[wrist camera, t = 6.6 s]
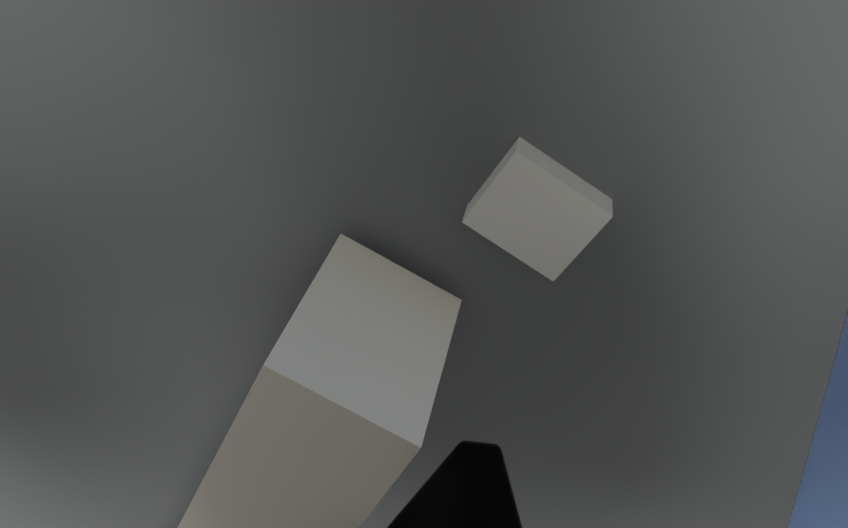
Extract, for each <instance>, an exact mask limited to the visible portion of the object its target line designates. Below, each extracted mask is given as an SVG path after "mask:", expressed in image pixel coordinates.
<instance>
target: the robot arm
mask: <svg viewBox="0 0 848 528" xmlns="http://www.w3.org/2000/svg"><path fill="white" fill-rule="evenodd" d="M387 528H522V524H521V521H520V517H519V513H518V509H517V506H516V502H515V498H514V494H513V491H512V487H511V483H510V479H509V476H508V472H507V468H506V464H505V461H504V457H503V453H502V450H501V448H500V446H499V445H497V444H493V443H484V442H476V441H468V440H464V441H461V442H460V443H458V444H457V446H456V447H455V448H454V449H453V450H452V451H451V452H450V454H449V455H448V456H447V457H446V458H445V460H444V461H443V462H442V463H441V464H440V465H439V467H438V468H437V469H436V470H435V471H434V472H433V474H432V475H431V476H430V477H429V478H428V480H427V481H426V482H425V483H424V484H423V485H422V487H421V488H420V489H419V490H418V491H417V492H416V494H415V495H414V496H413V497H412V498H411V500H410V501H409V502H408V503H407V504H406V505H405V507H404V508H403V509H402V510H401V511H400V512H399V514H398V515H397V516H396V517H395V518H394V520H393V521H392V522H391V523H390V524H389V525H388V527H387Z"/></svg>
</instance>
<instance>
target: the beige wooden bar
mask: <svg viewBox="0 0 848 528" xmlns="http://www.w3.org/2000/svg"><path fill="white" fill-rule="evenodd" d="M461 301H462V300H461V299H459V298H457V297H456V296H454V295H452V294H450V293H448V292H447V291H445V290H443V289H441V288H439V287H437V286H436V285H434V284H432V283H430V282H428V281H426V280H425V279H423V278H421V277H419V276H417V275H416V274H414V273H412V272H410V271H408V270H406V269H405V268H403V267H401V266H399V265H397V264H396V263H394V262H392V261H390V260H388V259H386V258H385V257H383V256H381V255H379V254H377V253H376V252H374V251H372V250H370V249H368V248H366V247H365V246H363V245H361V244H359V243H357V242H356V241H354V240H352V239H350V238H348V237H346V236H345V235H343V234H340V236H339V237H338V239H337V241H336V242H335V244H334V246H333V247H332V249H331V251H330V253H329V254H328V256H327V258H326V259H325V261H324V263H323V264H322V266H321V268H320V269H319V271H318V273H317V275H316V276H315V278H314V280H313V281H312V283H311V285H310V286H309V288H308V290H307V292H306V293H305V295H304V297H303V298H302V300H301V302H300V303H299V305H298V307H297V308H296V310H295V312H294V314H293V315H292V317H291V319H290V320H289V322H288V324H287V325H286V327H285V329H284V331H283V332H282V334H281V336H280V337H279V339H278V341H277V342H276V344H275V346H274V347H273V349H272V351H271V353H270V354H269V356H268V358H267V359H266V361H265V363H264V364H263V366H262V368H261V370H260V372H259V374H258V376H257V378H256V380H255V381H254V383H253V385H252V387H251V389H250V391H249V393H248V395H247V397H246V399H245V400H244V402H243V404H242V406H241V408H240V410H239V412H238V414H237V416H236V418H235V419H234V421H233V423H232V425H231V427H230V429H229V431H228V433H227V435H226V436H225V438H224V440H223V442H222V444H221V446H220V448H219V450H218V452H217V454H216V455H215V457H214V459H213V461H212V463H211V465H210V467H209V469H208V471H207V473H206V474H205V476H204V478H203V480H202V482H201V484H200V486H199V488H198V490H197V492H196V493H195V495H194V497H193V499H192V501H191V503H190V505H189V507H188V509H187V510H186V512H185V514H184V516H183V518H182V520H181V522H180V524H179V526H178V528H359V527H360V526H361V525H362V523H363V522H364V521H365V519H366V518H367V517H368V516H369V514H370V513H371V512H372V510H373V509H374V508H375V507H376V505H377V504H378V503H379V501H380V500H381V499H382V498H383V496H384V495H385V494H386V492H387V491H388V490H389V489H390V487H391V486H392V485H393V483H394V482H395V481H396V480H397V478H398V477H399V476H400V474H401V473H402V472H403V471H404V469H405V468H406V467H407V465H408V464H409V463H410V462H411V460H412V459H413V458H414V456H415V455H416V454H417V453H418V451H419V450H420V449H421V447H422V443H423V439H424V436H425V432H426V428H427V425H428V421H429V417H430V414H431V410H432V407H433V403H434V399H435V396H436V392H437V388H438V385H439V381H440V377H441V374H442V370H443V366H444V363H445V359H446V356H447V352H448V348H449V345H450V341H451V337H452V334H453V330H454V326H455V323H456V319H457V316H458V312H459V308H460V305H461Z"/></svg>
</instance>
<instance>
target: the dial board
mask: <svg viewBox="0 0 848 528" xmlns="http://www.w3.org/2000/svg"><path fill="white" fill-rule="evenodd" d="M340 234H343V235H345V236H346V237H348V238H350V239H352V240H354V241H356V242H357V243H359V244H361V245H363V246H365V247H366V248H368V249H370V250H372V251H374V252H376V253H377V254H379V255H381V256H383V257H385V258H386V259H388V260H390V261H392V262H394V263H396V264H397V265H399V266H401V267H403V268H405V269H406V270H408V271H410V272H412V273H414V274H416V275H417V276H419V277H421V278H423V279H425V280H426V281H428V282H430V283H432V284H434V285H436V286H437V287H439V288H441V289H443V290H445V291H447V292H448V293H450V294H452V295H454V296H456V297H457V298H459V299H461V300H462V301H461V305H460V308H459V312H458V316H457V319H456V323H455V326H454V330H453V334H452V337H451V341H450V345H449V348H448V352H447V356H446V359H445V363H444V366H443V370H442V374H441V377H440V381H439V385H438V388H437V392H436V396H435V399H434V403H433V407H432V410H431V414H430V417H429V421H428V425H427V428H426V432H425V436H424V439H423V443H422V447H421V449H420V450H419V451H418V453H417V454H416V455H415V456H414V458H413V459H412V460H411V462H410V463H409V464H408V465H407V467H406V468H405V469H404V471H403V472H402V473H401V474H400V476H399V477H398V478H397V480H396V481H395V482H394V483H393V485H392V486H391V487H390V489H389V490H388V491H387V492H386V494H385V495H384V496H383V498H382V499H381V500H380V501H379V503H378V504H377V505H376V507H375V508H374V509H373V510H372V512H371V513H370V514H369V516H368V517H367V518H366V519H365V521H364V522H363V523H362V525H361V526H360V527H359V528H387V527H388V525H389V524H390V523H391V522H392V521H393V520H394V518H395V517H396V516H397V515H398V514H399V512H400V511H401V510H402V509H403V508H404V507H405V505H406V504H407V503H408V502H409V501H410V500H411V498H412V497H413V496H414V495H415V494H416V492H417V491H418V490H419V489H420V488H421V487H422V485H423V484H424V483H425V482H426V481H427V480H428V478H429V477H430V476H431V475H432V474H433V472H434V471H435V470H436V469H437V468H438V467H439V465H440V464H441V463H442V462H443V461H444V460H445V458H446V457H447V456H448V455H449V454H450V452H451V451H452V450H453V449H454V448H455V447H456V446H457V444H458V443H460V442H461V441H464V440H468V441H476V442H484V443H493V444H497V445H499V446H500V448H501V450H502V453H503V457H504V461H505V464H506V468H507V472H508V476H509V479H510V483H511V487H512V491H513V494H514V498H515V502H516V506H517V509H518V513H519V517H520V521H521V524H522V528H788V525H789V521H790V518H791V514H792V511H793V507H794V503H795V500H796V496H797V493H798V489H799V485H800V482H801V478H802V475H803V471H804V467H805V464H806V460H807V456H808V453H809V449H810V446H811V442H812V438H813V435H814V431H815V428H816V424H817V420H818V417H819V413H820V409H821V406H822V402H823V399H824V395H825V391H826V388H827V384H828V381H829V377H830V373H831V370H832V366H833V363H834V359H835V355H836V352H837V348H838V344H839V341H840V337H841V334H842V330H843V326H844V323H845V319H846V316H847V312H848V0H0V528H178V526H179V524H180V522H181V520H182V518H183V516H184V514H185V512H186V510H187V509H188V507H189V505H190V503H191V501H192V499H193V497H194V495H195V493H196V492H197V490H198V488H199V486H200V484H201V482H202V480H203V478H204V476H205V474H206V473H207V471H208V469H209V467H210V465H211V463H212V461H213V459H214V457H215V455H216V454H217V452H218V450H219V448H220V446H221V444H222V442H223V440H224V438H225V436H226V435H227V433H228V431H229V429H230V427H231V425H232V423H233V421H234V419H235V418H236V416H237V414H238V412H239V410H240V408H241V406H242V404H243V402H244V400H245V399H246V397H247V395H248V393H249V391H250V389H251V387H252V385H253V383H254V381H255V380H256V378H257V376H258V374H259V372H260V370H261V368H262V366H263V364H264V363H265V361H266V359H267V358H268V356H269V354H270V353H271V351H272V349H273V347H274V346H275V344H276V342H277V341H278V339H279V337H280V336H281V334H282V332H283V331H284V329H285V327H286V325H287V324H288V322H289V320H290V319H291V317H292V315H293V314H294V312H295V310H296V308H297V307H298V305H299V303H300V302H301V300H302V298H303V297H304V295H305V293H306V292H307V290H308V288H309V286H310V285H311V283H312V281H313V280H314V278H315V276H316V275H317V273H318V271H319V269H320V268H321V266H322V264H323V263H324V261H325V259H326V258H327V256H328V254H329V253H330V251H331V249H332V247H333V246H334V244H335V242H336V241H337V239H338V237H339V236H340Z"/></svg>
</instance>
